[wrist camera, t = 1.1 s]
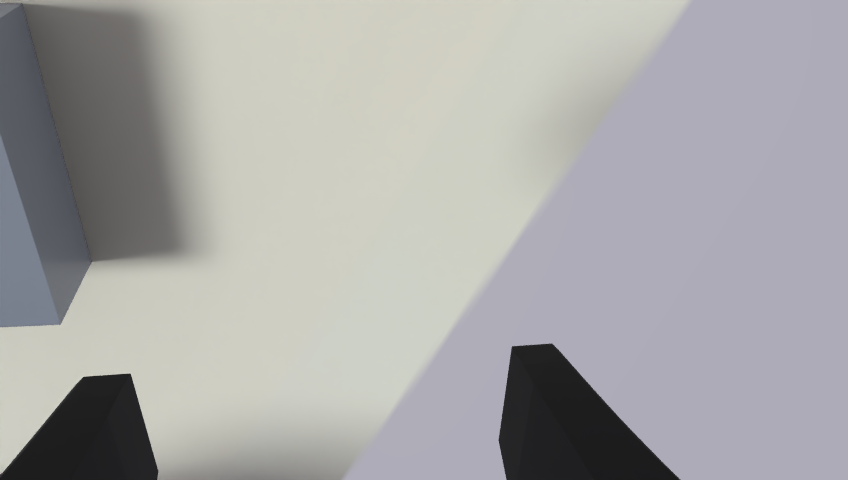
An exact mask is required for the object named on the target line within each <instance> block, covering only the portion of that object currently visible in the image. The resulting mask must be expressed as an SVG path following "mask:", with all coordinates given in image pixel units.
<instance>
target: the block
mask: <svg viewBox="0 0 848 480" xmlns="http://www.w3.org/2000/svg"><path fill="white" fill-rule="evenodd" d="M90 264H91V258H90V255H89V251H88V247H87V243H86V240H85V236H84V232H83V228H82V225H81V221H80V217H79V214H78V210H77V206H76V202H75V199H74V195H73V191H72V187H71V184H70V180H69V176H68V173H67V169H66V165H65V161H64V158H63V154H62V150H61V146H60V143H59V139H58V135H57V132H56V128H55V124H54V120H53V117H52V113H51V109H50V106H49V102H48V98H47V94H46V91H45V87H44V83H43V79H42V76H41V72H40V68H39V65H38V61H37V57H36V53H35V50H34V46H33V42H32V38H31V35H30V31H29V27H28V24H27V20H26V16H25V12H24V9H23V5H22V3H0V327H17V326H40V325H61V323H62V321H63V319H64V317H65V315H66V313H67V310H68V308H69V306H70V304H71V302H72V300H73V298H74V296H75V294H76V292H77V290H78V288H79V286H80V284H81V282H82V280H83V278H84V276H85V274H86V272H87V270H88V268H89V266H90Z"/></svg>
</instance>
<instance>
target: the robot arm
mask: <svg viewBox="0 0 848 480" xmlns="http://www.w3.org/2000/svg"><path fill="white" fill-rule="evenodd" d="M499 444H500V449H501V454H502V459H503V464H504V469H505V474H506V479H507V480H680V479H679V478H678V477H677V476H676V475H675V474H674V473H673V472H672V471H671V470H670V469H669V468H668V467H667V466H666V465H665V464H664V463H663V462H661V460H660V459H659V458H658V457H657V456H656V455H655V454H654V453H653V452H652V451H651V450H650V449H649V448H648V447H647V446H646V445H645V444H644V443H643V442H642V441H641V440H640V439H639V438H638V437H637V436H636V435H635V434H634V433H633V432H632V431H631V430H630V428H628V426H627V425H626V424H625V423H624V422H623V421H622V420H621V419H620V418H619V417H618V416H617V415H616V414H615V413H614V411H613V410H612V409H611V408H610V407H609V406H608V405H607V404H606V403H605V402H604V400H603V399H602V398H601V397H600V396H599V395H598V394H597V393H596V392H595V391H594V390H593V388H592V387H591V386H590V385H589V384H588V383H587V382H586V380H585V379H584V378H583V377H582V376H581V375H580V374H579V373H578V371H577V370H576V369H575V368H574V367H573V366H572V365H571V364H570V362H569V361H568V360H567V359H566V358H565V357H564V356H563V354H562V353H561V352H560V351H559V350H558V349H557V348H556V347H555V346H554V345H553V344H541V345H526V346H512V350H511V357H510V365H509V371H508V378H507V386H506V392H505V400H504V406H503V414H502V421H501V428H500V435H499ZM157 476H158V469H157V465H156V462H155V458H154V455H153V451H152V448H151V444H150V441H149V437H148V433H147V430H146V426H145V423H144V419H143V416H142V412H141V409H140V405H139V402H138V398H137V395H136V391H135V387H134V384H133V380H132V377H131V374H117V375H103V376H89V377H83V378H82V379H81V380H80V381H79V382H78V383H77V384H76V385H75V387H74V388H73V389H72V390H71V391H70V392H69V394H68V395H67V396H66V397H65V398H64V400H63V401H62V402H61V403H60V405H59V406H58V407H57V408H56V409H55V411H54V412H53V413H52V414H51V415H50V417H49V418H48V419H47V420H46V422H45V423H44V424H43V425H42V426H41V428H40V429H39V430H38V431H37V432H36V434H35V435H34V436H33V437H32V439H31V440H30V441H29V442H28V443H27V444H26V446H25V447H24V448H23V449H22V450H21V452H20V453H19V454H18V455H17V456H16V458H15V459H14V460H13V461H12V462H11V464H10V465H9V466H8V467H7V468H6V469H5V471H4V472H3V473H2V474H1V475H0V480H157Z"/></svg>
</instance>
